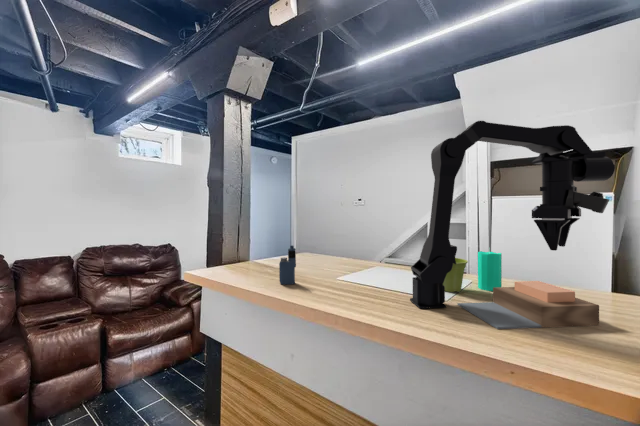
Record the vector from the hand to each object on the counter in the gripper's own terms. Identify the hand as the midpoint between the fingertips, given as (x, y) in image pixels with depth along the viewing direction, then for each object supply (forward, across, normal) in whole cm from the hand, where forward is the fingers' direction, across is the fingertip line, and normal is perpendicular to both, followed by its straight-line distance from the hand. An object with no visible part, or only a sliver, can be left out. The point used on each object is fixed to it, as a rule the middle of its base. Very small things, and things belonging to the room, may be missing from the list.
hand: (558, 248), depth 67 cm
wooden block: (+14, -9, +2) cm, 16 cm away
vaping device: (+13, -36, +61) cm, 72 cm away
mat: (+14, -17, +8) cm, 23 cm away
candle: (+14, +5, +16) cm, 22 cm away
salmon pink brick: (+10, -8, +1) cm, 13 cm away
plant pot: (+14, -5, +24) cm, 28 cm away
